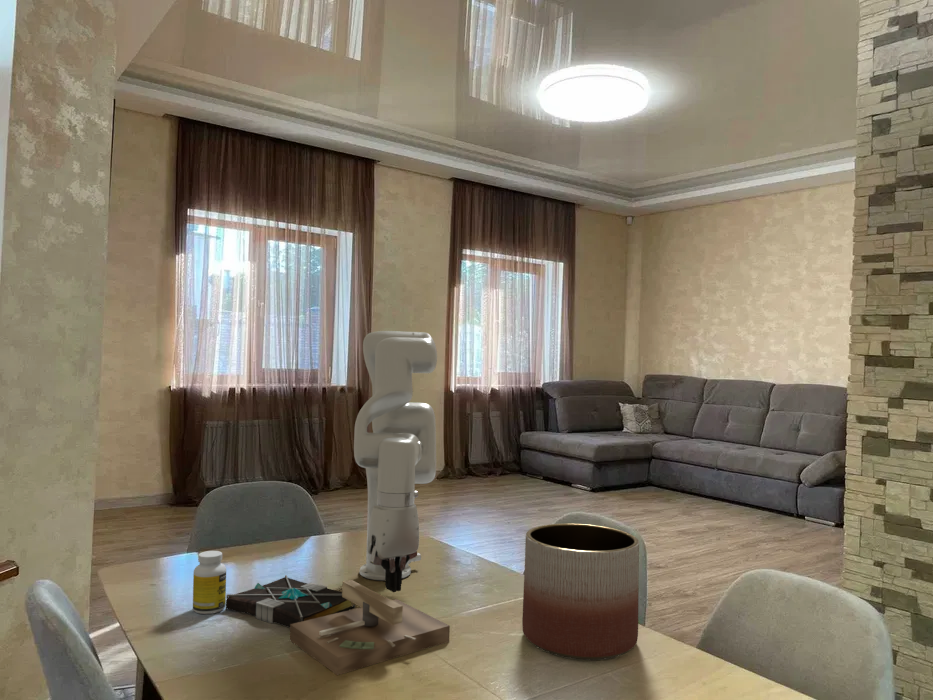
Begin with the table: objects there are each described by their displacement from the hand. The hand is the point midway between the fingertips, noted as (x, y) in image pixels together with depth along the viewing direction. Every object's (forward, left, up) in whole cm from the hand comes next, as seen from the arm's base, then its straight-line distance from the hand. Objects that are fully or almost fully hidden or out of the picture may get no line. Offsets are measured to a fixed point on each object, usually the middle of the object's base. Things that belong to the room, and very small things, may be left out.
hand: (393, 589), depth 144 cm
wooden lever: (+13, +5, -3) cm, 15 cm away
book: (+13, -18, -7) cm, 24 cm away
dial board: (+9, +5, -6) cm, 12 cm away
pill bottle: (+27, -28, -7) cm, 39 cm away
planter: (-24, +28, -7) cm, 38 cm away
